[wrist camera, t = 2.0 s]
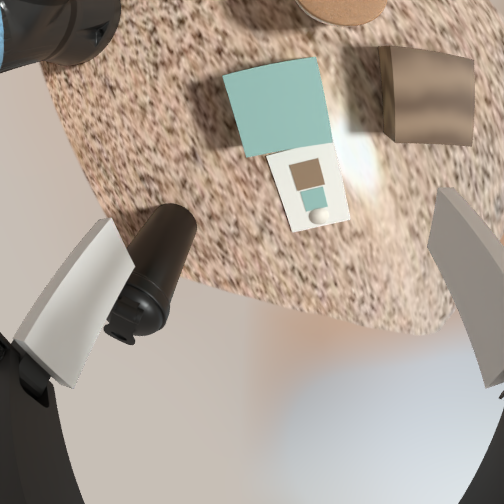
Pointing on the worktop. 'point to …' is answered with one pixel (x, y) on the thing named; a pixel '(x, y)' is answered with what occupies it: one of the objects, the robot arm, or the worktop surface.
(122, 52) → the worktop surface
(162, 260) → the water bottle
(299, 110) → the teal brick
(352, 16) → the lidded jar
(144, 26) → the worktop surface
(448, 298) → the worktop surface
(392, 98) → the walnut base
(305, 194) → the page
